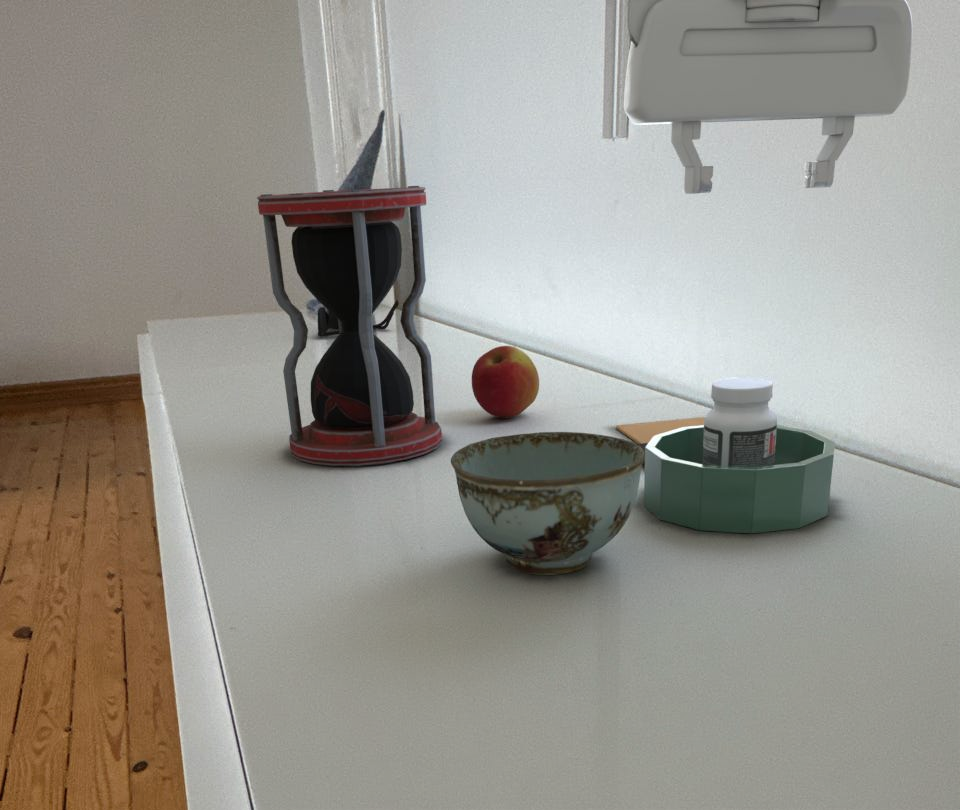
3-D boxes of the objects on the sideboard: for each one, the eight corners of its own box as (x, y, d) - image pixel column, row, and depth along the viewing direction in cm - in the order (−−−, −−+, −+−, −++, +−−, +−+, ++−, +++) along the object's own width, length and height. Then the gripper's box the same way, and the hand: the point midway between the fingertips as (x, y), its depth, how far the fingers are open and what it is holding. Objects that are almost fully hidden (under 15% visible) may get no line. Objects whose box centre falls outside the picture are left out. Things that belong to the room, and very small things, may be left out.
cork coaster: (702, 419, 110) (703, 417, 110) (741, 440, 101) (741, 437, 101) (615, 428, 109) (615, 425, 108) (646, 450, 100) (647, 447, 100)
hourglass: (420, 422, 115) (402, 185, 105) (461, 454, 101) (445, 185, 91) (280, 439, 111) (247, 194, 101) (303, 475, 97) (267, 195, 87)
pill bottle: (779, 498, 84) (789, 377, 79) (759, 518, 79) (769, 391, 75) (713, 490, 86) (719, 374, 82) (690, 509, 82) (695, 387, 78)
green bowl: (777, 472, 90) (782, 417, 88) (863, 521, 77) (871, 458, 75) (623, 488, 88) (624, 432, 86) (684, 541, 75) (687, 477, 73)
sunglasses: (388, 337, 178) (386, 308, 176) (311, 339, 181) (308, 310, 179) (411, 323, 193) (408, 296, 191) (339, 325, 196) (336, 298, 193)
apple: (462, 415, 118) (458, 346, 114) (524, 406, 121) (522, 338, 117) (487, 428, 111) (484, 354, 108) (552, 418, 114) (551, 346, 111)
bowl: (583, 610, 64) (582, 490, 61) (419, 574, 72) (411, 465, 68) (674, 546, 74) (678, 440, 71) (522, 520, 82) (519, 423, 78)
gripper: (643, -41, 63) (637, 197, 69) (937, -43, 67) (907, 184, 72) (613, -23, 69) (609, 196, 75) (885, -26, 72) (861, 184, 78)
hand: (758, 190), depth 74 cm, fingers open, 8 cm apart
